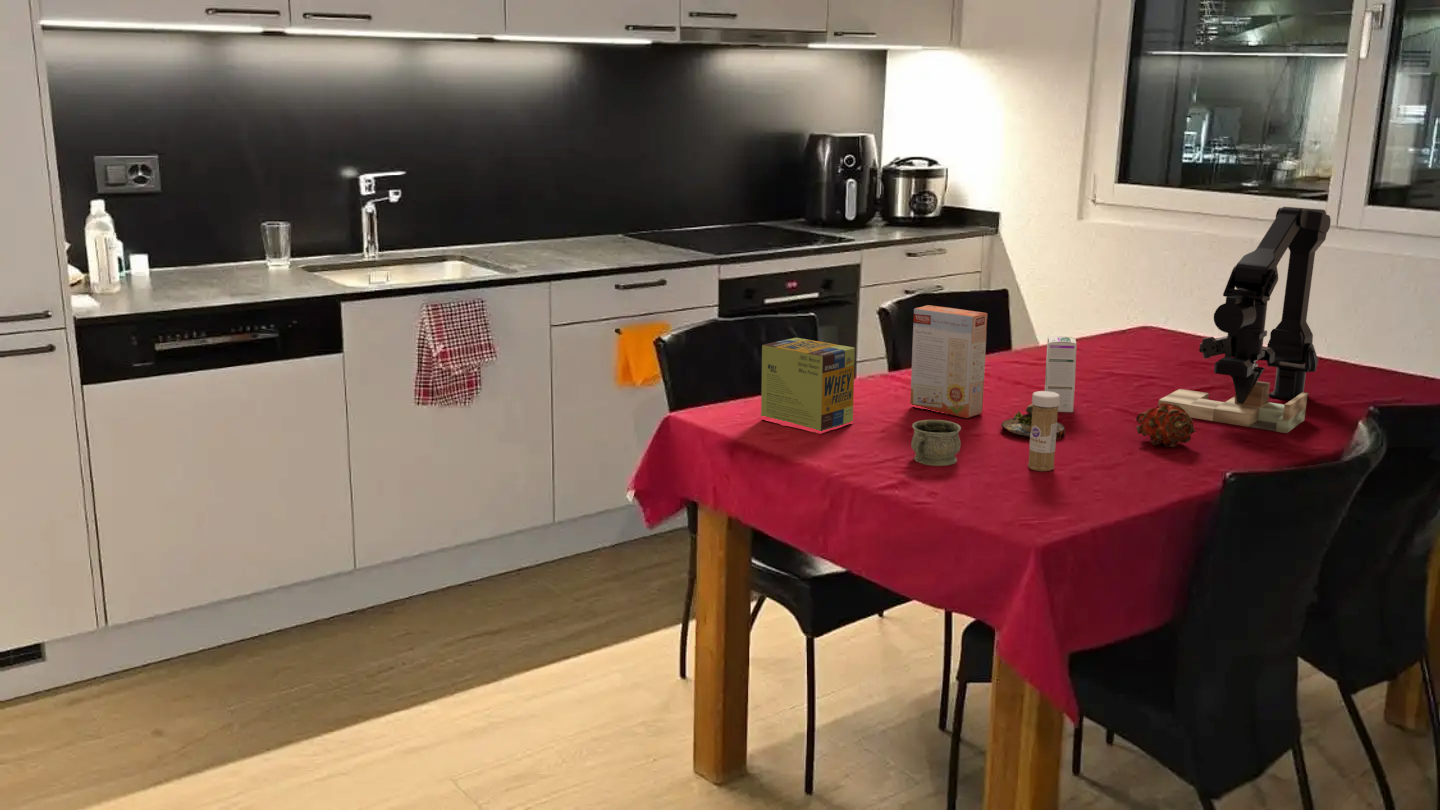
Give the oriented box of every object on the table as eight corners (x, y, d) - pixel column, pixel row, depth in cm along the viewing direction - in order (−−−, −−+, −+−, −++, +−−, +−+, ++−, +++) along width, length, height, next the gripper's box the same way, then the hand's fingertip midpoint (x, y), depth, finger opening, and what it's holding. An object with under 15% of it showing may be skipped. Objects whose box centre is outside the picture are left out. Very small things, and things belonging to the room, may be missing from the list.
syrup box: (1073, 412, 259) (1078, 342, 256) (1043, 411, 261) (1048, 341, 257) (1071, 405, 265) (1076, 336, 261) (1042, 404, 266) (1047, 335, 262)
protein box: (821, 435, 244) (822, 355, 240) (760, 421, 254) (760, 344, 250) (854, 424, 251) (856, 347, 247) (793, 410, 261) (794, 336, 257)
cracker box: (983, 414, 258) (989, 312, 253) (967, 420, 254) (972, 316, 249) (925, 402, 268) (929, 303, 262) (908, 407, 263) (912, 307, 258)
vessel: (935, 448, 236) (936, 415, 234) (975, 458, 230) (977, 424, 228) (894, 461, 227) (895, 427, 226) (935, 472, 221) (936, 437, 220)
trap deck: (1178, 400, 269) (1181, 374, 268) (1304, 420, 254) (1307, 393, 253) (1157, 411, 260) (1160, 385, 259) (1286, 433, 245) (1290, 405, 244)
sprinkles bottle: (1023, 468, 223) (1027, 393, 220) (1035, 462, 227) (1040, 388, 223) (1047, 473, 220) (1052, 398, 217) (1059, 467, 224) (1064, 393, 220)
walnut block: (1242, 398, 261) (1244, 379, 260) (1267, 402, 258) (1270, 382, 257) (1234, 403, 257) (1236, 383, 256) (1260, 407, 254) (1262, 387, 253)
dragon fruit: (1189, 461, 232) (1136, 455, 243) (1213, 429, 235) (1159, 423, 245) (1170, 428, 229) (1117, 423, 239) (1194, 395, 232) (1140, 391, 242)
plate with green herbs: (989, 429, 249) (991, 392, 247) (1040, 423, 253) (1042, 386, 251) (1025, 445, 238) (1027, 406, 236) (1078, 439, 242) (1080, 400, 240)
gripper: (1222, 314, 262) (1215, 388, 266) (1191, 327, 248) (1183, 405, 252) (1279, 320, 256) (1270, 396, 259) (1250, 335, 241) (1241, 415, 245)
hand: (1240, 403), depth 254 cm, fingers closed
